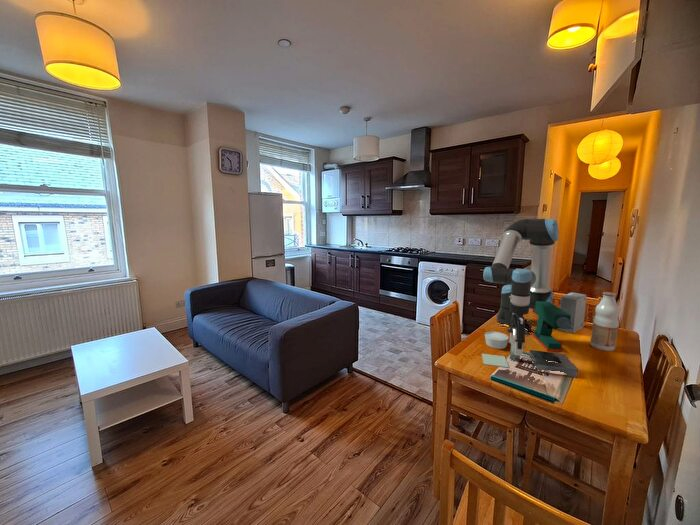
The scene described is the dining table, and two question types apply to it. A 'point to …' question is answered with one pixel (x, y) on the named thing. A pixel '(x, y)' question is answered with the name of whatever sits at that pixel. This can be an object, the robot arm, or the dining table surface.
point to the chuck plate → (562, 359)
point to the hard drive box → (574, 310)
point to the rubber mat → (494, 360)
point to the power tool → (550, 324)
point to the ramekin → (496, 340)
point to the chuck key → (514, 344)
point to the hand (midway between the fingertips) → (515, 349)
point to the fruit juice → (605, 323)
